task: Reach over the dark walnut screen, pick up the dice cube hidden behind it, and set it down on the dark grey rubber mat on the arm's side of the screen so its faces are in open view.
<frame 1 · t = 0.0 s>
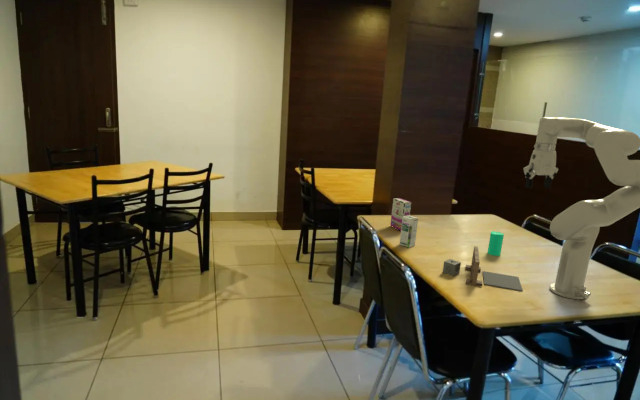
hand: (537, 187, 180), 37 cm above the table, tool pointing down, fingers open, 9 cm apart
candy bar box: (399, 229, 238), on the table
candle: (493, 253, 206), on the table
walnut screen: (473, 276, 177), on the table
syrup box: (407, 245, 211), on the table
grey mat: (501, 281, 173), on the table
dice cube: (450, 273, 179), on the table
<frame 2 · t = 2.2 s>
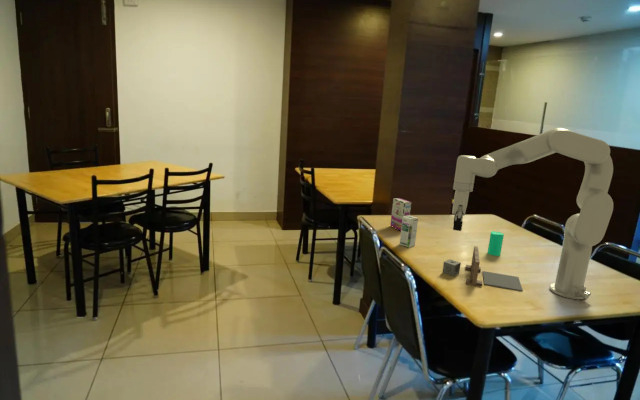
hand: (457, 227, 175), 20 cm above the table, tool pointing down, fingers open, 9 cm apart
nothing on the table moved.
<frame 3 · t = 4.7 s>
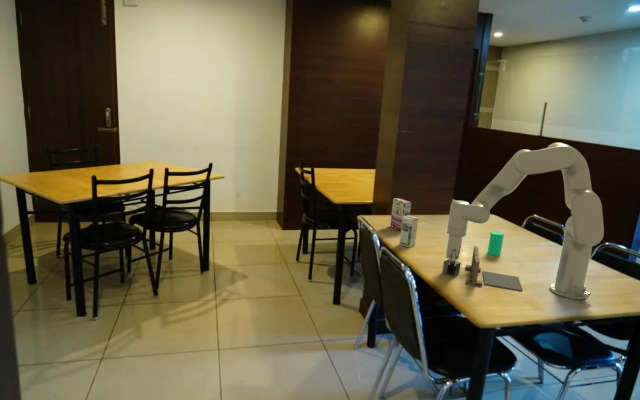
hand: (450, 270, 179), 1 cm above the table, tool pointing down, fingers closed on dice cube, 6 cm apart
dice cube: (450, 273, 179), on the table, touching gripper
everything else where it was.
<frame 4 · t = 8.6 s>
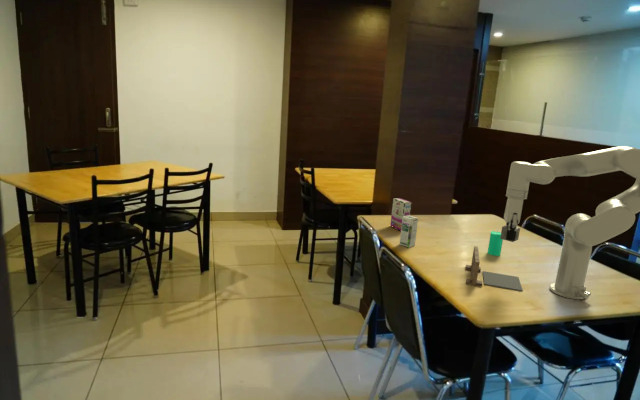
hand: (509, 237, 169), 19 cm above the table, tool pointing down, fingers closed on dice cube, 6 cm apart
dice cube: (509, 239, 169), point 18 cm above the table, touching gripper
everything else where it was.
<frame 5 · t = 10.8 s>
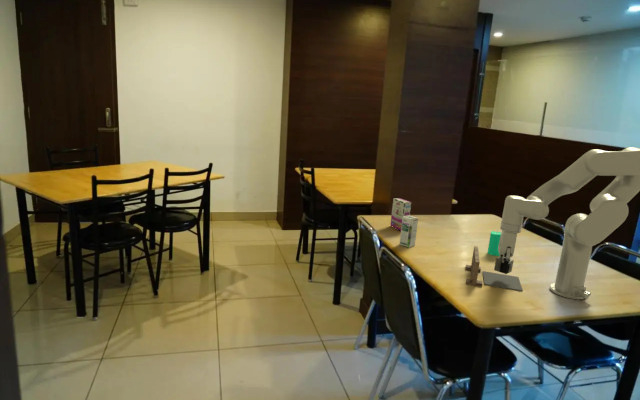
hand: (503, 268, 172), 5 cm above the table, tool pointing down, fingers closed on dice cube, 6 cm apart
dice cube: (502, 271, 172), point 4 cm above the table, touching gripper
everything else where it was.
when the fingers open (2 cm above the table, at t = 12.4 s): dice cube drops 1 cm, resting on grey mat.
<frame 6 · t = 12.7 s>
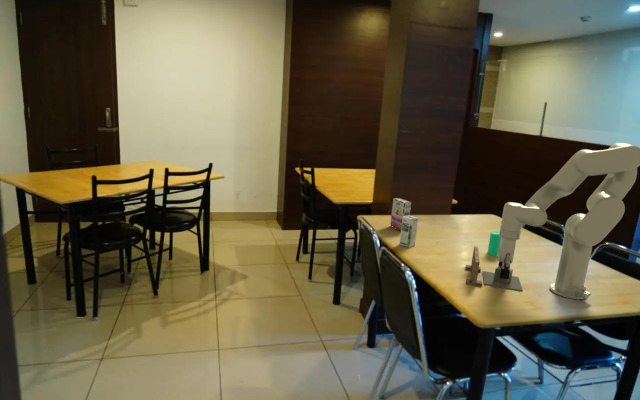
hand: (502, 273, 173), 3 cm above the table, tool pointing down, fingers open, 9 cm apart
dice cube: (502, 280, 173), resting on grey mat
everything else where it was.
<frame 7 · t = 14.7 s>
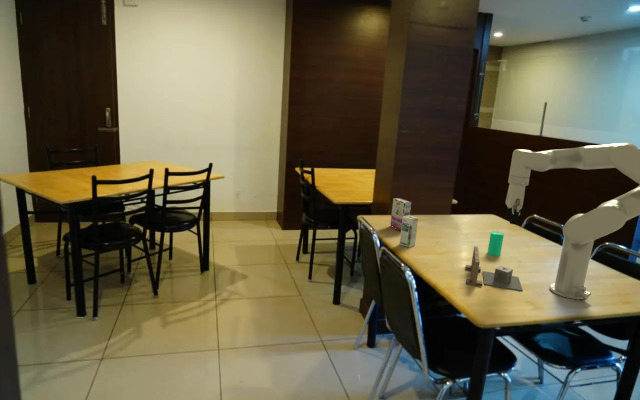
hand: (511, 220, 176), 24 cm above the table, tool pointing down, fingers open, 9 cm apart
nothing on the table moved.
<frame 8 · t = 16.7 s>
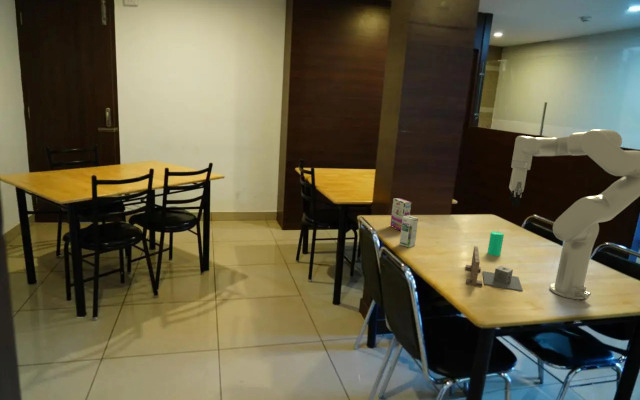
hand: (514, 203, 186), 28 cm above the table, tool pointing down, fingers open, 9 cm apart
nothing on the table moved.
at the end: dice cube inside the target area on the grey mat (0.4 cm from its centre), point 0.3 cm above the grey mat's base; the gripper is holding nothing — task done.
